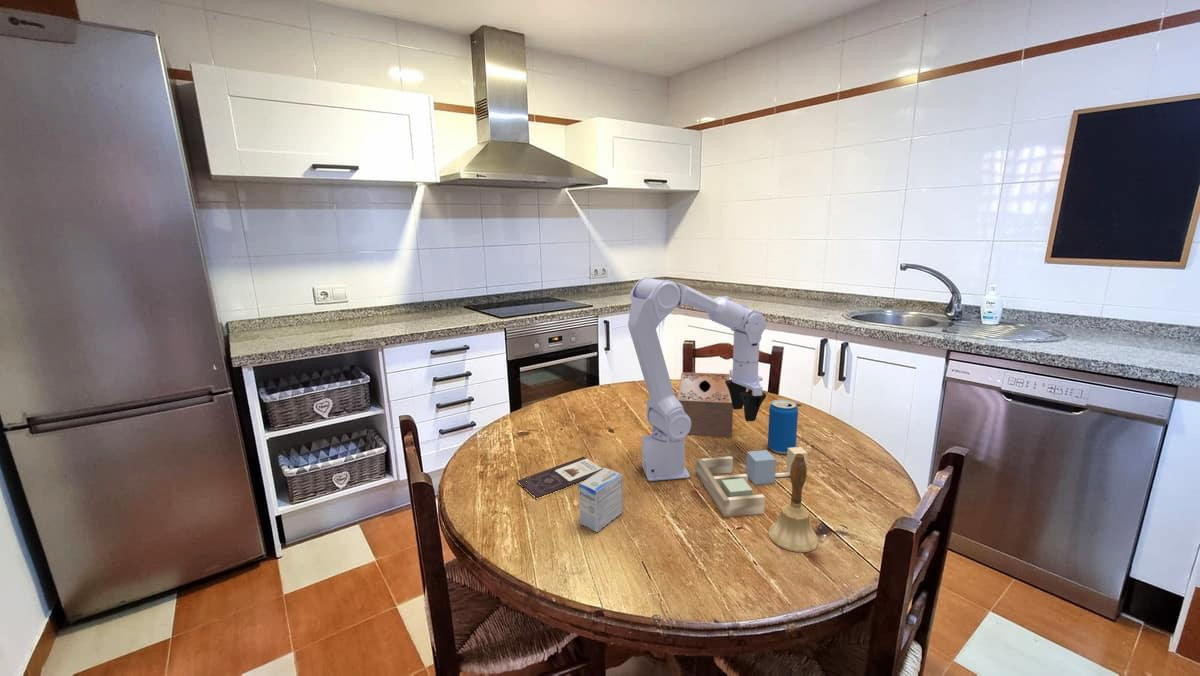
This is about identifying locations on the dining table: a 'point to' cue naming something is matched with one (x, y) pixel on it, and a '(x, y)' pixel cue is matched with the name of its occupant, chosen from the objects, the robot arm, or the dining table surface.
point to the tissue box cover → (707, 403)
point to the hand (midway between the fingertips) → (743, 414)
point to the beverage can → (782, 426)
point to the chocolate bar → (559, 477)
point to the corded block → (769, 465)
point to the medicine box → (601, 499)
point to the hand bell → (795, 516)
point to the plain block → (736, 488)
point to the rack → (714, 487)
